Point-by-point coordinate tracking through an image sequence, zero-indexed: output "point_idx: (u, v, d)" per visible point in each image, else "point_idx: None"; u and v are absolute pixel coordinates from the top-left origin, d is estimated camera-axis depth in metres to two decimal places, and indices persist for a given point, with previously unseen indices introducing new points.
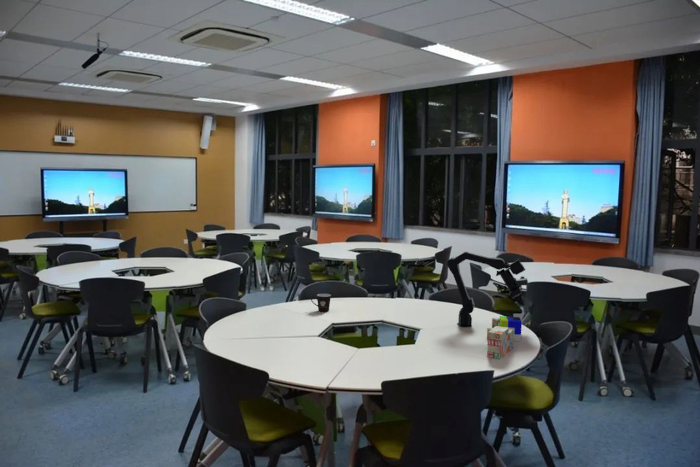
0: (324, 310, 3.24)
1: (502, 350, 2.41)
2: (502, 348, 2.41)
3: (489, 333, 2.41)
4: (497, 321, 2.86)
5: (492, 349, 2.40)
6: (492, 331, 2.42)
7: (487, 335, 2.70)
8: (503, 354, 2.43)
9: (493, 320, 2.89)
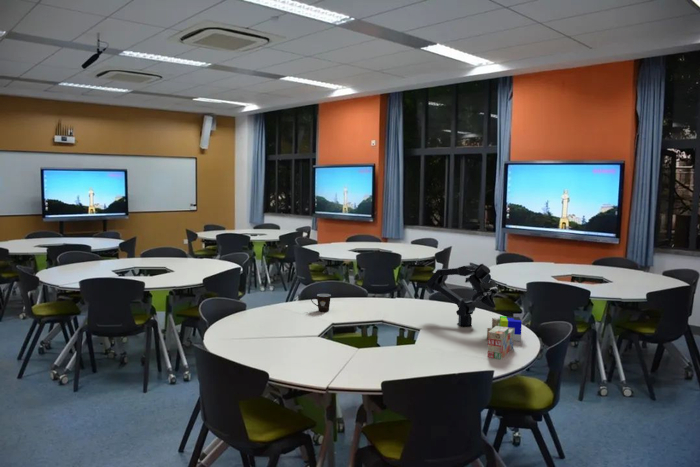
0: (324, 310, 3.24)
1: (502, 350, 2.41)
2: (502, 348, 2.41)
3: (489, 333, 2.41)
4: (497, 321, 2.86)
5: (493, 349, 2.41)
6: (492, 331, 2.42)
7: (487, 335, 2.70)
8: (503, 354, 2.43)
9: (493, 320, 2.89)
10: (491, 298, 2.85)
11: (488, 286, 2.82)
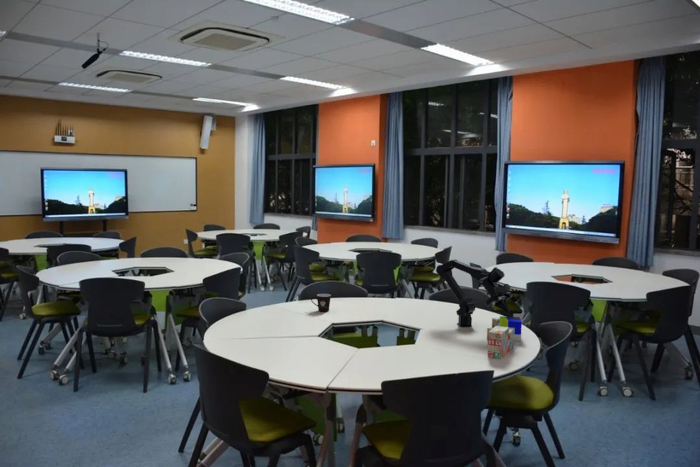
0: (324, 310, 3.24)
1: (502, 350, 2.41)
2: (502, 348, 2.41)
3: (489, 333, 2.41)
4: (497, 321, 2.86)
5: (493, 348, 2.41)
6: (492, 331, 2.42)
7: (487, 335, 2.70)
8: (503, 354, 2.43)
9: (493, 320, 2.89)
10: (505, 302, 2.78)
11: (502, 290, 2.76)
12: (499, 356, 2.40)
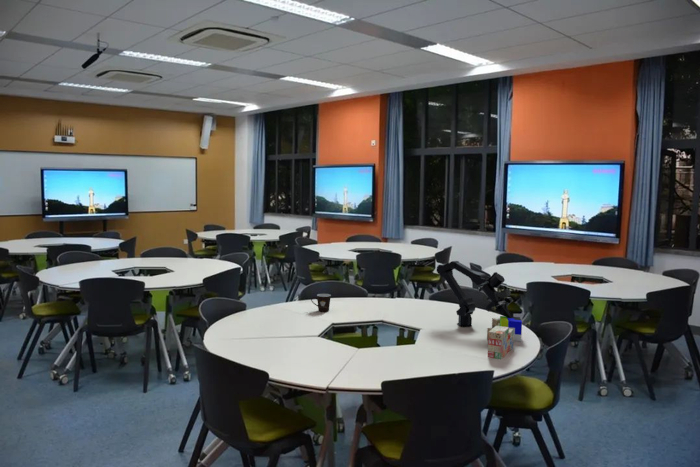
0: (324, 310, 3.24)
1: (502, 350, 2.42)
2: (503, 348, 2.42)
3: (490, 333, 2.41)
4: (497, 321, 2.86)
5: (493, 348, 2.41)
6: (493, 331, 2.42)
7: (487, 335, 2.70)
8: (503, 354, 2.43)
9: (493, 320, 2.89)
10: (505, 307, 2.78)
11: (503, 295, 2.75)
12: (499, 356, 2.40)
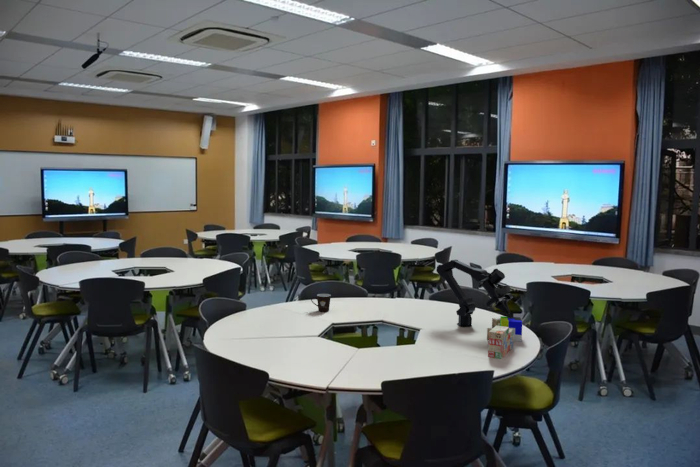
0: (324, 310, 3.24)
1: (503, 349, 2.42)
2: (503, 347, 2.42)
3: (490, 333, 2.42)
4: (497, 321, 2.86)
5: (493, 348, 2.41)
6: (493, 331, 2.43)
7: (487, 335, 2.70)
8: (504, 353, 2.44)
9: (493, 320, 2.89)
10: (505, 304, 2.78)
11: (503, 291, 2.75)
12: (499, 356, 2.40)
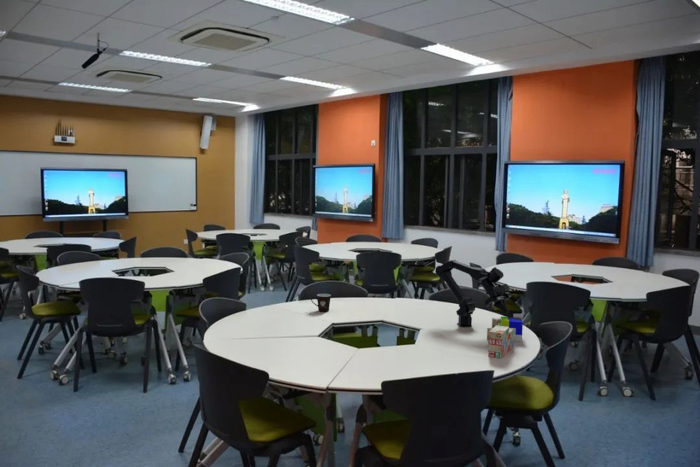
0: (324, 310, 3.24)
1: (503, 349, 2.42)
2: (503, 347, 2.42)
3: (490, 332, 2.42)
4: (497, 321, 2.86)
5: (494, 348, 2.42)
6: (493, 330, 2.43)
7: (487, 335, 2.70)
8: (504, 353, 2.44)
9: (493, 320, 2.89)
10: (504, 303, 2.79)
11: (501, 290, 2.76)
12: (500, 356, 2.40)
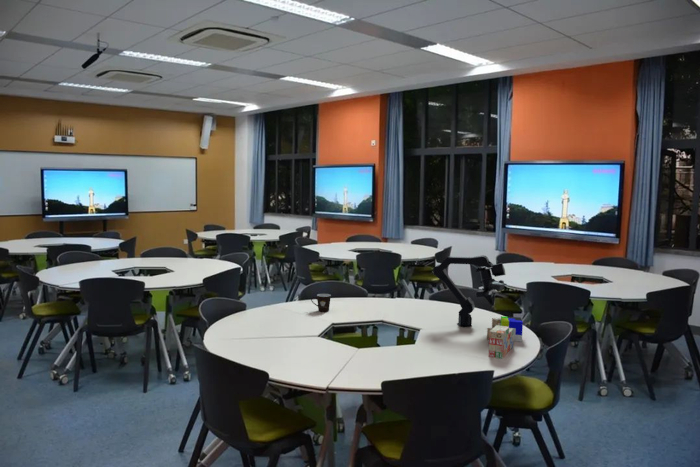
0: (324, 310, 3.24)
1: (503, 349, 2.42)
2: (503, 347, 2.42)
3: (490, 332, 2.42)
4: (497, 321, 2.86)
5: (494, 348, 2.42)
6: (493, 330, 2.43)
7: (487, 335, 2.70)
8: (504, 353, 2.44)
9: (493, 320, 2.89)
10: (493, 296, 2.90)
11: (496, 288, 2.84)
12: (500, 355, 2.41)
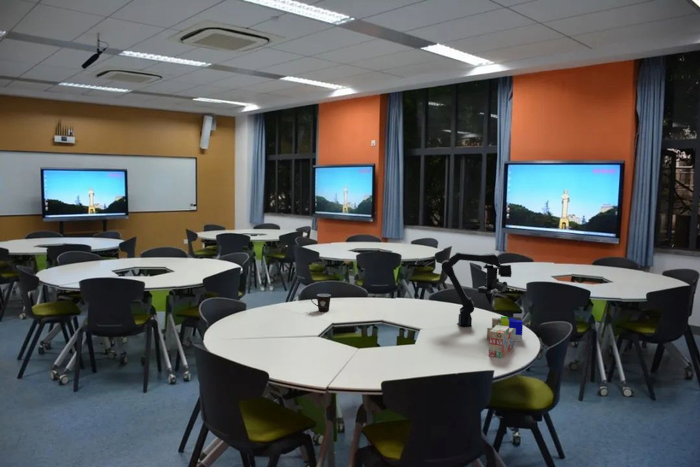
0: (324, 310, 3.24)
1: (503, 349, 2.43)
2: (503, 347, 2.43)
3: (491, 332, 2.42)
4: (497, 321, 2.86)
5: (494, 348, 2.42)
6: (493, 330, 2.43)
7: (487, 335, 2.70)
8: (504, 353, 2.45)
9: (493, 320, 2.89)
10: (493, 295, 2.93)
11: (499, 288, 2.87)
12: (500, 355, 2.41)
